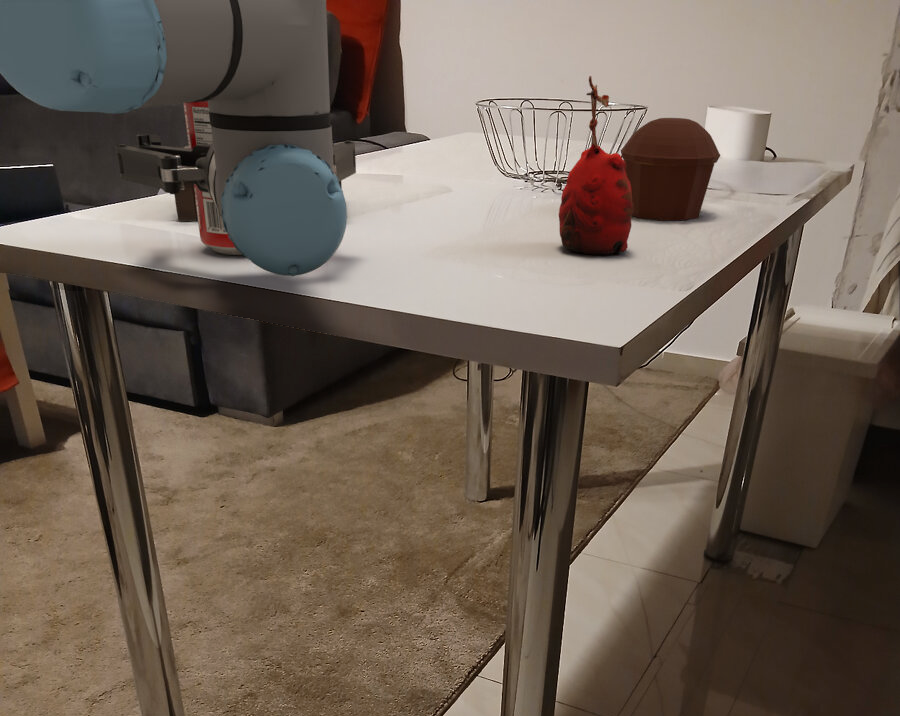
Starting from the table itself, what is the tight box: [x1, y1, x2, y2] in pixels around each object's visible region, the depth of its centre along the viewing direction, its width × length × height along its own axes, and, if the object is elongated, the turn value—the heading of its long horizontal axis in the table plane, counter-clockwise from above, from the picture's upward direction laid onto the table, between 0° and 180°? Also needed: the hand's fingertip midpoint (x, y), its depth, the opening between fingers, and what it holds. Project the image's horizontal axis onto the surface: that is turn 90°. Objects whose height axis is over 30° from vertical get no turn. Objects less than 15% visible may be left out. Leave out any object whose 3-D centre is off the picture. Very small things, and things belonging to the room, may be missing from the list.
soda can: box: [182, 101, 243, 256], centre depth 83 cm, size 8×8×15 cm
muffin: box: [620, 117, 721, 221], centre depth 105 cm, size 12×11×10 cm
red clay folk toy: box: [558, 75, 634, 256], centre depth 85 cm, size 8×7×15 cm
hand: (231, 149), depth 84 cm, fingers open, 13 cm apart
